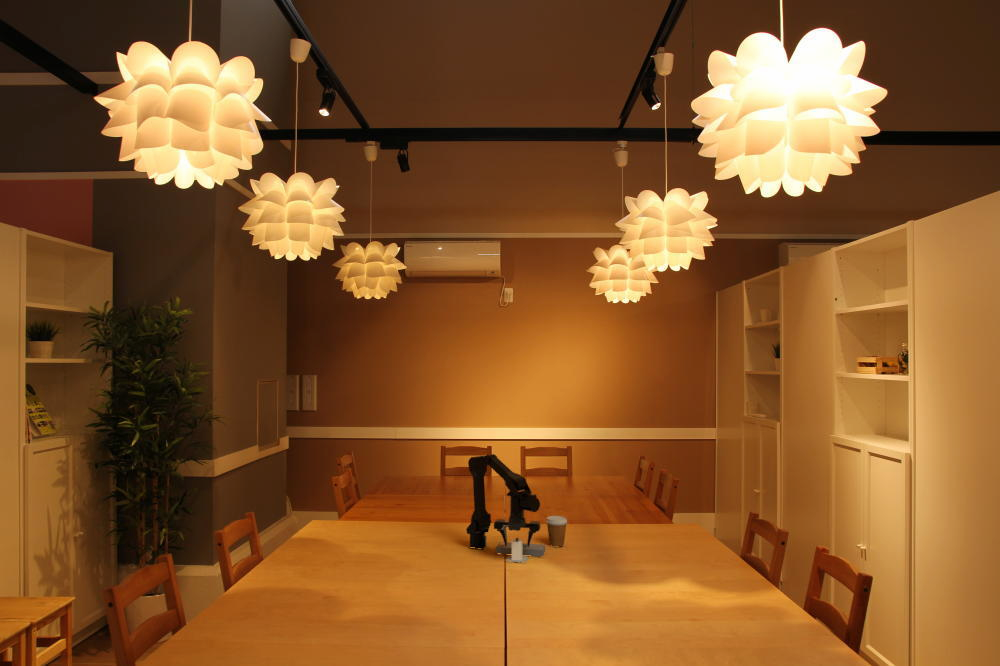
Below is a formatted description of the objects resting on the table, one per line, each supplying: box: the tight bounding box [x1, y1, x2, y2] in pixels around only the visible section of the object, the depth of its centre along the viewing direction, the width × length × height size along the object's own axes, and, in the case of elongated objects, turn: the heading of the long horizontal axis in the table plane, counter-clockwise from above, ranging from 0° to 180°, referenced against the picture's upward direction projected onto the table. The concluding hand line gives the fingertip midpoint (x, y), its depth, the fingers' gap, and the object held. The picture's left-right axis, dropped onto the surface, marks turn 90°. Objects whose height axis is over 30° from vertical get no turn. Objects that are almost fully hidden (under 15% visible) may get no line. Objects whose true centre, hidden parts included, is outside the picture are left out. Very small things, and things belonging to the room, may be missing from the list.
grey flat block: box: [495, 541, 546, 557], centre depth 260 cm, size 20×8×4 cm, turn 79°
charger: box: [511, 537, 524, 560], centre depth 251 cm, size 4×4×8 cm
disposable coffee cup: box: [545, 515, 568, 547], centre depth 272 cm, size 10×10×12 cm
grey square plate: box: [505, 555, 529, 563], centre depth 251 cm, size 8×8×1 cm
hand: (517, 546), depth 251 cm, fingers open, 9 cm apart
